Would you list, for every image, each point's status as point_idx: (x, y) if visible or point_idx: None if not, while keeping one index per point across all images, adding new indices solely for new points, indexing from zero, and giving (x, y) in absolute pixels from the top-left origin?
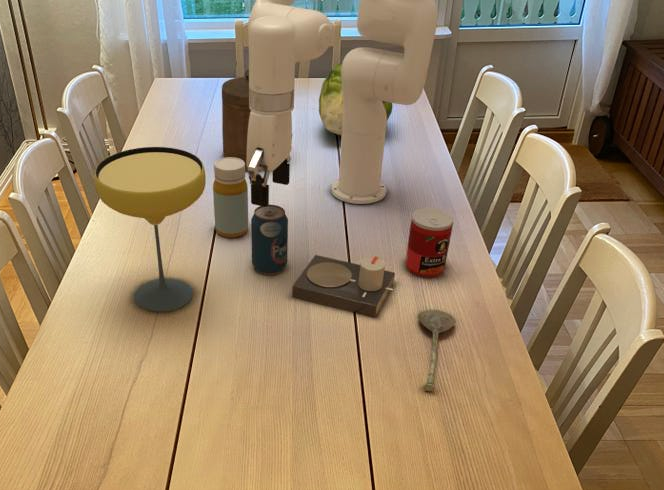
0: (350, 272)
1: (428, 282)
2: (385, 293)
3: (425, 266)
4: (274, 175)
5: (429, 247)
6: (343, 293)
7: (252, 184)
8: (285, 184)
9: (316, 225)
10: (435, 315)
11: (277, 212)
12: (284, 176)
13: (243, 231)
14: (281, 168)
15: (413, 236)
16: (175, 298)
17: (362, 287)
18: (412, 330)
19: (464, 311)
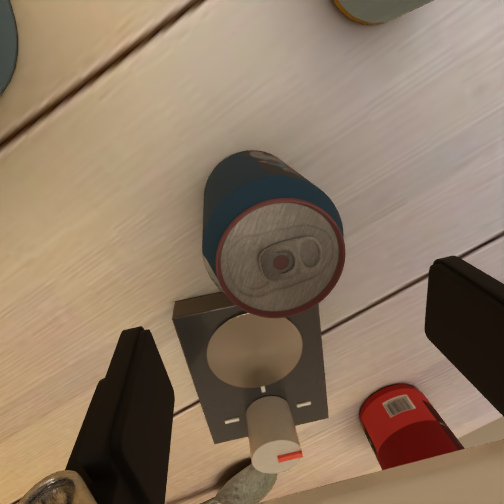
0: (284, 375)
1: (349, 426)
2: None
3: (368, 439)
4: (461, 294)
5: None
6: (213, 396)
7: (45, 496)
8: (425, 326)
9: (482, 179)
10: (241, 500)
11: (305, 276)
12: (457, 352)
13: (364, 21)
14: (502, 373)
15: None
16: None
17: (247, 413)
18: (217, 463)
19: (300, 480)
